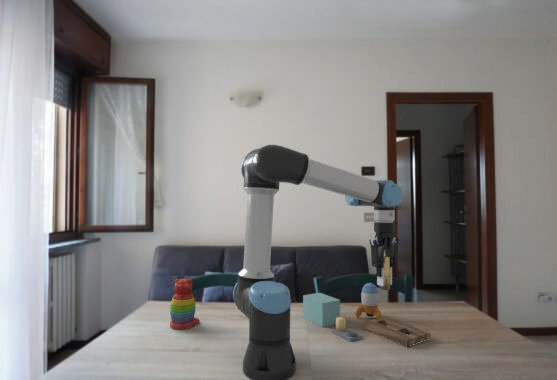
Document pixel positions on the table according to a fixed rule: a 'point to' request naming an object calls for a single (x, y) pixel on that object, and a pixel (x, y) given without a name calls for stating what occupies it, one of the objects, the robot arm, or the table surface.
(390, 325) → the board
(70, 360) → the table surface
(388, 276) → the peg
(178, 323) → the stacking bear
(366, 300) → the toy rocket
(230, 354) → the table surface
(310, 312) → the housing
